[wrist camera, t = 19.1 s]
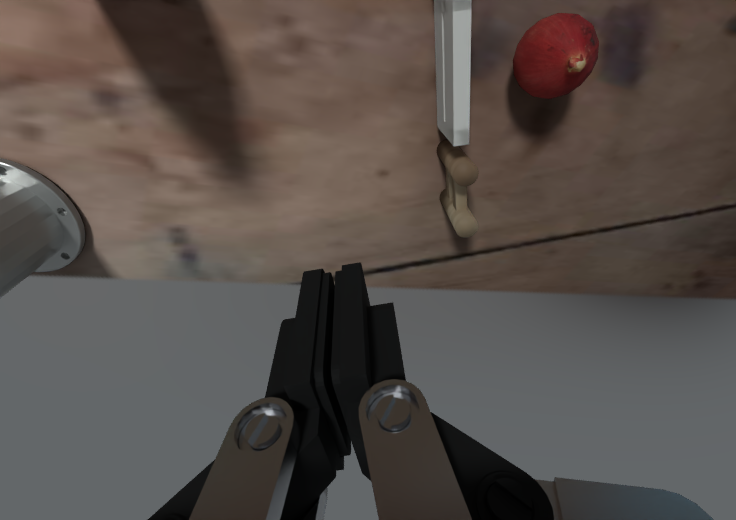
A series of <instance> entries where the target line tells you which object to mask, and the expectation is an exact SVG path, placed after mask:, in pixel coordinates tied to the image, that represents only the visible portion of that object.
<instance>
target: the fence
mask: <svg viewBox="0 0 736 520" xmlns="http://www.w3.org/2000/svg"><path fill="white" fill-rule="evenodd" d="M437 155H438V156H439V158H440V159H441V161H442V162H443V164H444V165H445V167H446V185H447V188H446V189H444V190H443V191H442V192H441V194H440V201H441V203H442V205H443V207H444V209H445V211H446V213H447V215H448V217H449V219H450V221H451V223H452V225H453V227H454V229H455V231H456V233H457V234H458V235H459V236H460V237H463V238H468V237H471V236H473V235H474V234H475V233H476V232H477V230H478V223H477V221H476V219H475V218H474V216H473V215H472V213H471V212H470V210H469V208H468V207H467V186H469V185H471V184H473V183H474V182H475V181H476V179H477V177H478V169H477V167H476V166H475V165H474V163H473V162H472V161H471V160H470V159H469V158H468V157H467V155H466V154H465V153H464V152H463V151H462V150H461V149H460V147H459V146H453V145H452V144H451V143H450V141H449V140H448V139H446V140H443V141H442V142H441V143H440V144H439V145H438V147H437Z"/></svg>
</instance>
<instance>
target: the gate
mask: <svg viewBox="0 0 736 520" xmlns="http://www.w3.org/2000/svg"><path fill="white" fill-rule="evenodd" d="M471 1H472V0H434V23H435V57H436V91H437V125H438V128H439V129H440V131H441V132H442V133H443V134H444V135H445V137H446V138H447V139H448V140H449V141H450V143H451V144H452V145H453V146H461V145H467V144H469V117H470V59H471Z"/></svg>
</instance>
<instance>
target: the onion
mask: <svg viewBox="0 0 736 520" xmlns="http://www.w3.org/2000/svg"><path fill="white" fill-rule="evenodd" d="M598 47H599V41H598V38H597V35H596V32H595V29H594V26H593V25H592V24H591V23H590V22H588V21H587V20H586V19H584V18H583V17H581V16H580V15H578V14H567V13H557V14H554V15H552V16H549V17H546V18H544V19H542V20H540V21H538V22H537V23H536V24H535V25H533V26H532V27H531V28H530V29H528V30H527V31H526V33H525V34H524V36H523V37H522V39H521V40H520V42H519V43H518V45H517V48H516V52H515V55H514V59H513V68H514V76H515V78H516V80H517V82H518V84H519V86H520V87H521V88H522V89H524V90H525V91H526V92H527V93H529V94H530V95H531V96H534V97H540V98H546V99H552V98H555V97H559V96H562V95H566V94H568V93H570V92H571V91H573V90H574V89H576V88H577V87H578V86H580V85H581V84H582V83H583V82H584V81H585V79H586V78H587V77H588V76H589V75H590V73H591V72H592V70H593V68H594V66H595V63H596V61H597V59H598Z"/></svg>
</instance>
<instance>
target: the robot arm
mask: <svg viewBox="0 0 736 520" xmlns="http://www.w3.org/2000/svg"><path fill="white" fill-rule="evenodd" d="M84 244H85V229H84V224H83V222H82V219H81V217H80V214H79V213H78V211H77V209H76V208H75V206H74V204H73V203H72V202H71V201H70V200H69V198H68V197H67V196H66V195H65V194H64V193H63V192H62V191H61V190H60V189H59V188H58V187H57V186H56V185H55V184H53V183H52V182H51V181H49V180H48V179H46V178H45V177H44V176H42V175H41V174H39V173H37V172H35V171H34V170H32V169H30V168H28V167H26V166H24V165H21V164H18V163H16V162H13V161H10V160H6V159H2V158H0V298H1V297H2V296H4V295H5V294H6V293H8V292H9V291H10V290H11V289H12V288H14V287H15V286H16V285H18V284H19V283H20V282H21V281H23V280H24V279H25V278H26V277H28V276H29V275H30V274H31V273H33V272H49V271H54V270H58V269H61V268H63V267H65V266H67V265H68V264H70V263H71V262H72V261H73V260H74V259H76V258H77V256H78V255H79V254H80V253H81V252H82V249H83V247H84ZM351 441H352V444H353V447H354V450H355V453H356V456H357V459H358V462H359V465H360V468H361V471H362V473H363V474H364V475H365V476H366V477H367V478H368V479H369V480H371V482H372V487H373V492H374V496H375V502H376V507H377V512H378V517H379V520H713V518H712V517H711V516H709V515H708V514H707V513H706V512H705V511H704V510H703V509H702V508H700V507H699V506H698V505H697V504H696V503H694V502H692V501H691V500H689V499H687V498H685V497H684V496H682V495H680V494H677V493H674V492H670V491H666V490H663V489H662V490H661V489H654V488H644V487H636V486H627V485H618V484H609V483H600V482H592V481H583V480H574V479H565V478H557V477H555V478H554V482H553V481H544V480H535V479H533V478H532V477H531V476H530V475H528V474H527V473H526V472H524V471H523V470H521V469H520V468H518V467H516V466H515V465H513V464H512V463H510V462H509V461H507V460H505V459H504V458H502V457H501V456H499V455H498V454H496V453H494V452H493V451H491V450H490V449H488V448H486V447H485V446H483V445H482V444H480V443H479V442H477V441H475V440H474V439H472V438H471V437H469V436H468V435H466V434H465V433H463V432H461V431H460V430H458V429H457V428H455V427H453V426H452V425H450V424H449V423H447V422H446V421H444V420H443V419H441V418H439V417H438V416H436V415H435V414H433V413H432V412H430V410H429V407H428V405H427V402H426V399H425V397H424V396H423V394H422V392H421V391H420V390H419V389H418V388H417V387H416V386H415V385H413V384H412V383H409V382H407V381H406V379H405V373H404V367H403V360H402V354H401V348H400V342H399V336H398V330H397V324H396V317H395V311H394V306H393V303H387V304H381V305H374V306H370V302H369V298H368V293H367V288H366V284H365V279H364V274H363V269H362V265H361V262H360V263H354V264H348V265H342V271H336V273H335V285H334V281H333V277H332V274H331V273H330V272H329V273H325V272H324V270H323V269H317V270H311V271H305V272H304V273H303V277H302V283H301V289H300V295H299V300H298V306H297V311H296V317H295V318H291V319H285V320H283V321H282V323H281V327H280V332H279V336H278V340H277V345H276V350H275V354H274V359H273V364H272V368H271V372H270V377H269V382H268V386H267V391H266V396H265V398H262V399H259V400H257V401H254V402H252V403H251V404H249V405H248V406H246V407H245V408H244V409H242V410H241V411H240V412H239V414H238V415H237V416H236V417H235V418H234V420H233V422H232V423H231V425H230V427H229V429H228V431H227V434H226V436H225V438H224V440H223V443H222V445H221V447H220V450H219V452H218V454H217V456H216V459H215V460H214V461H213V462H212V463H211V464H209V465H208V466H207V467H206V468H205V469H204V470H203V471H202V472H201V473H199V474H198V475H197V476H196V477H195V478H194V479H193V480H192V481H190V482H189V483H188V484H187V485H186V486H185V487H184V488H183V489H181V490H180V491H179V492H178V493H177V494H176V495H175V496H174V497H173V498H171V499H170V500H169V501H168V502H167V503H166V504H165V505H164V506H163V507H162V508H160V509H159V510H158V511H157V512H156V513H155V514H154V515H152V516H151V517H150V518H149V519H148V520H323V519H324V513H325V508H326V502H327V487H328V485H329V484H330V483H331V482H332V481H333V480H334V479H335V477H336V470H343V469H344V456H346V455H350V454H351Z"/></svg>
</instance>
